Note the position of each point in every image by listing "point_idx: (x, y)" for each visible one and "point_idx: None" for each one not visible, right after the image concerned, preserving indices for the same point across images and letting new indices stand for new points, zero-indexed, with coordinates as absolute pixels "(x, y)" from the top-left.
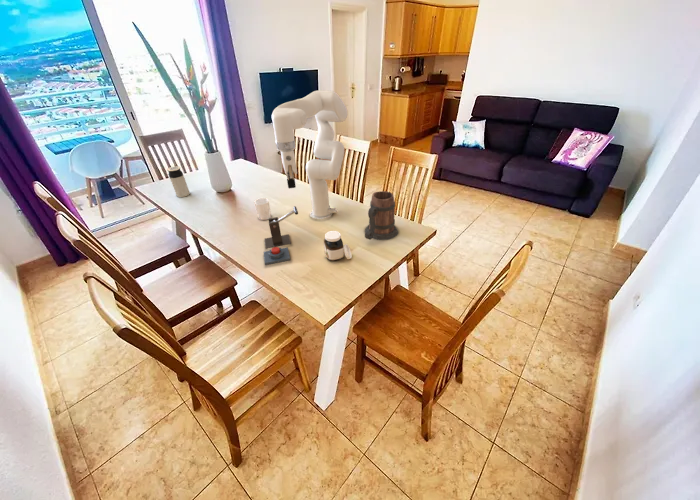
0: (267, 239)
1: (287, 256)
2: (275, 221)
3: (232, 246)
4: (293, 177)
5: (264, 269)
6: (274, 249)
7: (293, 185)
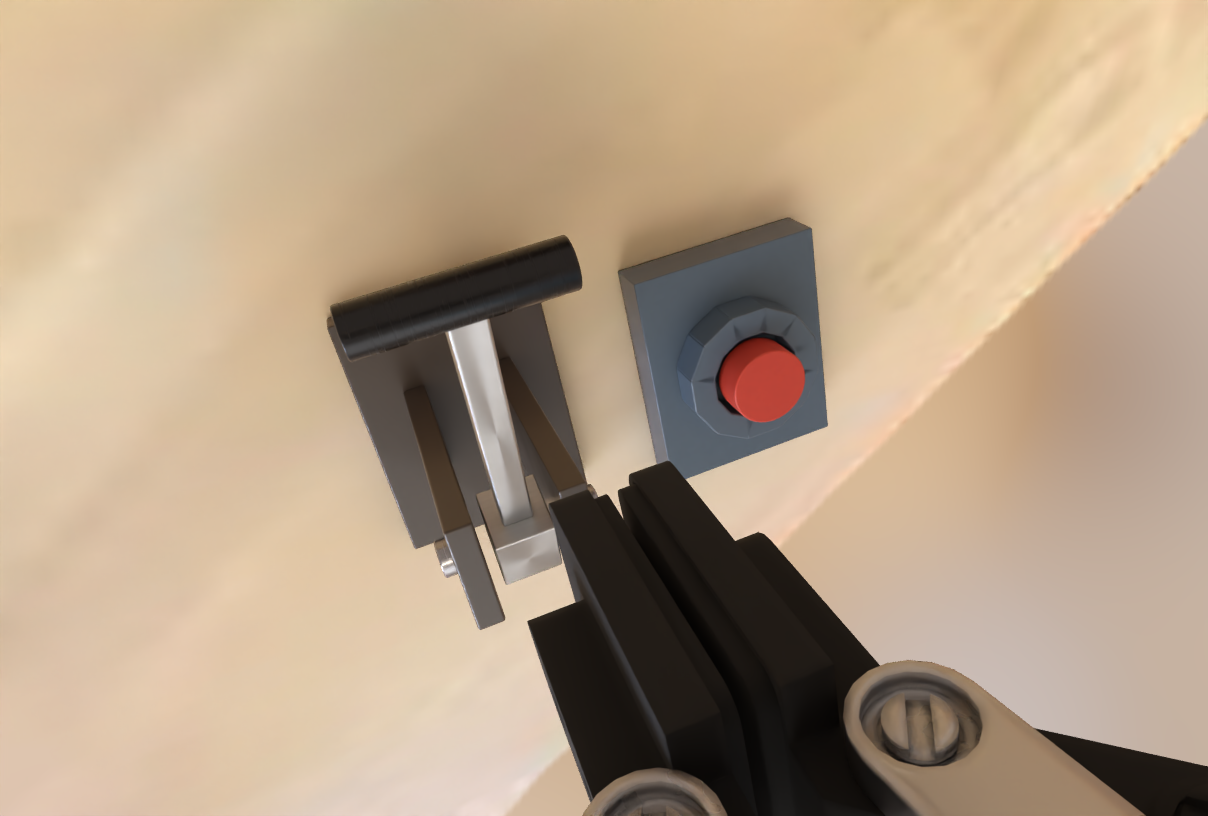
0: (436, 517)
1: (782, 256)
2: (548, 524)
3: (497, 740)
4: (1035, 753)
5: (831, 409)
6: (774, 394)
7: (774, 549)
